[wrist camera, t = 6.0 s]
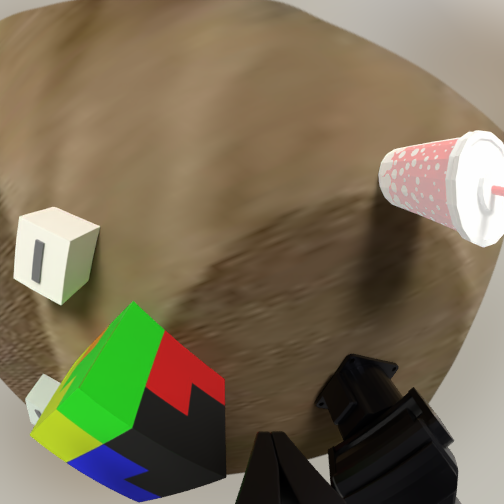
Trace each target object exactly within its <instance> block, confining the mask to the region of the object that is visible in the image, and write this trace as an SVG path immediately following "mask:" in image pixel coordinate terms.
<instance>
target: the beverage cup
mask: <svg viewBox="0 0 504 504" xmlns="http://www.w3.org/2000/svg"><path fill="white" fill-rule="evenodd" d="M378 175H379V184H380V188H381V190H382V193H383V195H384V197H385V198H386V199H387V200H388V201H389V202H390V203H391V204H392V205H395V206H397V207H400V208H403V209H405V210H408V211H411V212H413V213H416V214H418V215H421V216H423V217H426V218H428V219H431V220H433V221H435V222H438V223H440V224H443V225H445V226H447V227H449V228H452V229H454V230H456V231H458V232H459V234H460V235H461V237H462V238H463V239H466V240H468V241H470V242H472V243H474V244H477V245H479V246H481V247H486V246H489V245H492V244H495V243H496V242H497V241H498V240H499V239H500V237H501V236H502V235H503V234H504V145H503V143H502V141H501V140H499V139H498V138H497V137H496V136H495V135H494V134H493V133H491V132H487V131H474V132H468V133H466V134H465V135H463V136H462V137H461V138H454V139H448V140H442V141H436V142H430V143H424V144H419V145H413V146H408V147H403V148H398V149H394V150H393V151H391V152H389V153H388V154H386V156H385V157H384V159H383V161H382V162H381V165H380V170H379V174H378Z"/></svg>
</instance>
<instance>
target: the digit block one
mask: <svg viewBox="0 0 504 504" xmlns="http://www.w3.org/2000/svg"><path fill="white" fill-rule="evenodd" d="M99 230H100V226H98V225H96V224H93V223H91V222H89V221H86V220H84V219H81V218H79V217H77V216H74V215H72V214H70V213H68V212H65V211H63V210H61V209H58V208H56V207H51V208H47V209H44V210H40V211H37V212H33V213H30V214H26V215H23V216H20V217H19V224H18V232H17V240H16V251H15V264H14V279H16V280H17V281H19V282H21V283H22V284H24V285H26V286H27V287H29V288H31V289H32V290H34V291H36V292H38V293H39V294H41V295H43V296H45V297H46V298H48V299H50V300H52V301H54V302H56V303H58V304H59V305H62V304H63V303H64V302H65V301H67V300H68V299H69V298H70V297H71V296H72V295H73V294H74V293H75V292H76V291H78V290H79V289H80V288H81V287H82V286H83V285H84V284H86V283H87V282H88V281H89V275H90V270H91V265H92V260H93V255H94V251H95V246H96V242H97V238H98V234H99Z"/></svg>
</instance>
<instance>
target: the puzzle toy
mask: <svg viewBox="0 0 504 504" xmlns="http://www.w3.org/2000/svg"><path fill="white" fill-rule="evenodd" d="M30 436H31V437H32V438H34V439H35V440H36V441H37V442H39V443H40V444H41V445H43V446H44V447H45V448H46V449H48V450H49V451H50V452H52V453H53V454H55V455H56V456H58V457H59V458H60V459H62V460H63V461H65V462H66V463H68V464H69V465H71V466H72V467H74V468H75V469H77V470H78V471H80V472H82V473H83V474H85V475H87V476H88V477H90V478H92V479H93V480H95V481H97V482H99V483H100V484H102V485H104V486H106V487H108V488H110V489H112V490H114V491H116V492H118V493H120V494H122V495H124V496H126V497H128V498H130V499H132V500H134V501H137V502H143V501H148V500H153V499H157V498H162V497H166V496H169V495H173V494H177V493H181V492H184V491H188V490H191V489H194V488H197V487H201V486H204V485H207V484H210V483H212V482H215V481H218V480H221V479H224V478H226V445H225V379H224V378H222V377H221V376H220V375H219V374H217V373H216V372H215V371H213V370H212V369H211V368H210V367H208V366H207V365H206V364H204V363H203V362H202V361H201V360H199V359H198V358H197V357H196V356H195V355H193V354H192V353H191V352H190V351H188V350H187V349H186V348H185V347H184V346H183V345H181V344H180V343H179V342H178V341H177V340H175V339H174V338H173V337H172V336H171V335H170V334H169V333H167V332H166V331H165V330H164V329H163V328H162V327H161V326H160V325H158V324H157V323H156V322H155V321H154V320H153V319H152V318H151V317H150V316H149V315H148V314H147V313H145V312H144V311H143V310H142V309H141V308H140V307H139V306H138V305H137V304H136V303H135V302H134V301H133V302H132V303H131V304H130V305H129V306H128V307H127V308H126V309H125V310H124V311H123V312H122V313H121V314H120V315H119V316H118V317H117V318H116V319H115V320H114V321H113V322H112V323H111V324H110V325H109V326H108V327H107V328H106V329H105V330H104V331H103V332H102V333H101V335H100V336H99V337H98V338H97V339H96V340H95V341H94V342H93V343H92V344H91V345H90V346H89V347H88V348H87V349H86V351H85V352H84V353H83V354H82V355H81V356H80V357H79V358H78V359H77V360H76V361H75V363H74V364H73V366H72V367H71V369H70V370H69V372H68V373H67V375H66V376H65V378H64V379H63V381H62V382H61V384H60V385H59V387H58V389H57V390H56V392H55V393H54V395H53V396H52V398H51V400H50V401H49V403H48V404H47V406H46V408H45V409H44V411H43V413H42V414H41V416H40V418H39V419H38V421H37V423H36V425H35V426H34V428H33V430H32V432H31V434H30Z"/></svg>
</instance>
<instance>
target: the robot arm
mask: <svg viewBox="0 0 504 504" xmlns="http://www.w3.org/2000/svg"><path fill="white" fill-rule="evenodd" d="M351 359H352V360H351ZM397 370H398V365H397V364H396V363H393V362H388V361H383V360H378V359H374V358H369V357H365V356H361V355H356V354H349V355H348V356H347V357H346V358H345V360H344V361H343V363H342V364H341V366H340V367H339V369H338V370H337V372H336V373H335V375H334V376H333V378H332V379H331V381H330V382H329V383H328V385H327V386H326V388H325V389H324V390H323V392H322V393H321V395H320V396H319V397H318V399H317V400H316V402H315V404H316V406H317V407H319V408H326V409H328V410H329V412H330V415H331V417H332V420H333V422H334V424H335V425H338V428H339V430H340V433H341V435H342V438H343V440H344V441H343V442H341V443H340V444H338V445H336V446H335V447H334V446H333V447H332V448H330V449H328V455H329V469H330V482H331V486H330V485H329V483H328V482H327V481H326V480H325V479H324V478H323V477H322V476H321V475H320V474H319V472H318V471H317V470H316V469H315V468H314V467H313V466H312V465H311V463H309V461H308V460H307V459H306V458H305V456H304V455H303V454H302V453H301V452H300V451H299V449H298V448H297V447H296V446H295V445H294V443H293V442H292V441H291V440H290V439H289V437H288V436H287V435H286V434H285V433H284V432H282V431H273V432H271V433H270V432H257V435H256V438H255V441H254V445H253V448H252V452H251V455H250V458H249V462H248V465H247V468H246V471H245V475H244V478H243V481H242V484H241V487H240V491H239V493H238V496H237V500H236V503H235V504H461V503H460V501H459V500H458V498H457V497H456V492H457V481H458V467H457V463H456V460H455V457H454V455H453V454H452V452H451V451H450V449H449V448H448V446H449V445H450V444H451V443H453V442H454V439H453V438H452V436H451V435H450V433H449V432H448V430H447V429H446V427H445V426H444V424H443V423H442V421H441V420H440V418H439V417H438V416H437V415H436V413H435V412H434V411H433V409H432V408H431V407H430V406H429V404H428V403H427V402H426V401H425V400H424V398H423V397H422V396H421V395H420V394H419V393H418V392H417V390H416V389H415V388H414V387H413V388H412V389H410V390H409V391H408V393H407V394H406V395H405V396H404V397H403V396H402V395H401V394H400V392H399V391H398V389H397V388H396V386H395V385H394V384H393V382H392V381H391V378H392V377H393V375H394V374H395V373H396V371H397ZM321 402H322V403H321Z"/></svg>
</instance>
